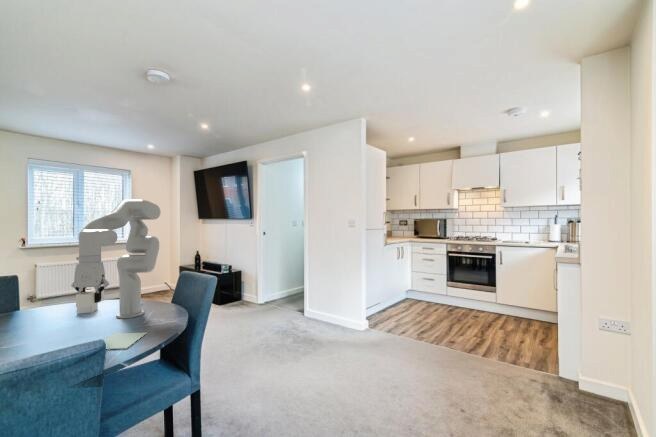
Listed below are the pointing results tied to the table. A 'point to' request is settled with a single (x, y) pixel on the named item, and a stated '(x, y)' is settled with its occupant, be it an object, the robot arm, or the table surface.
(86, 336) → the table surface
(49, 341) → the table surface
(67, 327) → the table surface
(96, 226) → the robot arm
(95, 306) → the medicine bottle
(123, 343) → the mat
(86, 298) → the cream rectangular box
